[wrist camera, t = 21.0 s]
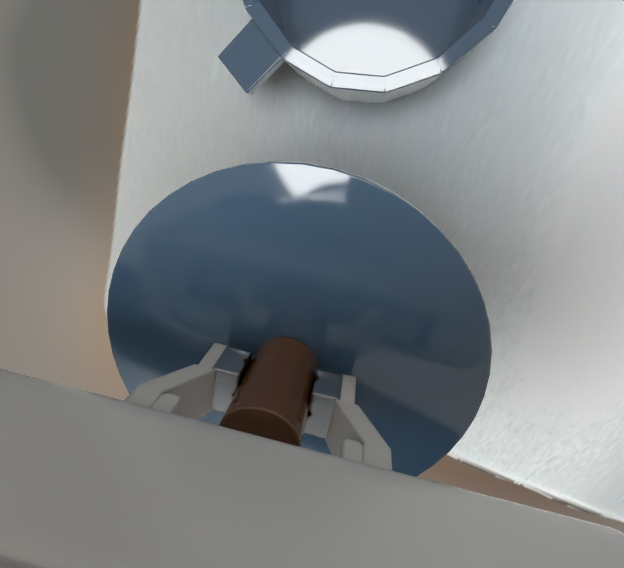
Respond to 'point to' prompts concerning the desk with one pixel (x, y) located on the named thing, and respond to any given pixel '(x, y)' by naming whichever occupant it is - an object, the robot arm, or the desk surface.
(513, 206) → the desk surface
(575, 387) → the desk surface
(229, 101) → the desk surface
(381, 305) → the lid
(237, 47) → the pot
